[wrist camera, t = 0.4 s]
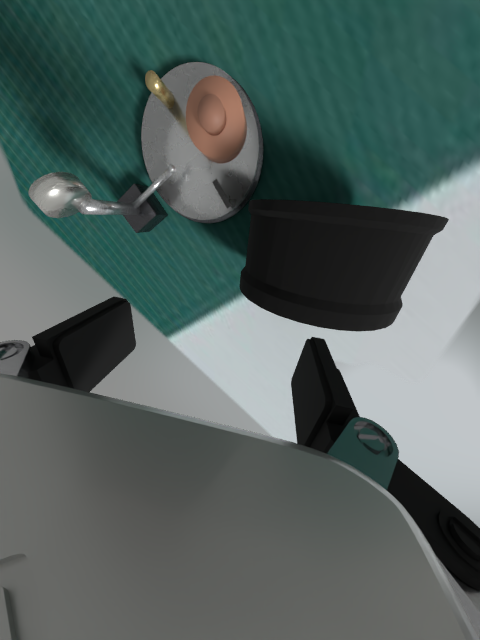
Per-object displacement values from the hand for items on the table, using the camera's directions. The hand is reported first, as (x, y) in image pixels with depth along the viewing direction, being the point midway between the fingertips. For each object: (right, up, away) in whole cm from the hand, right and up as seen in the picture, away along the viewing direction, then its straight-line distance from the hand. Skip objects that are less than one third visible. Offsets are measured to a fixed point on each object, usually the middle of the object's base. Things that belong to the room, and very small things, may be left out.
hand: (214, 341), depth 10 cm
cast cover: (-1, +27, +16) cm, 31 cm away
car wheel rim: (+13, +14, +24) cm, 30 cm away
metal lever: (-12, +22, +23) cm, 34 cm away
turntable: (-4, +26, +19) cm, 32 cm away
